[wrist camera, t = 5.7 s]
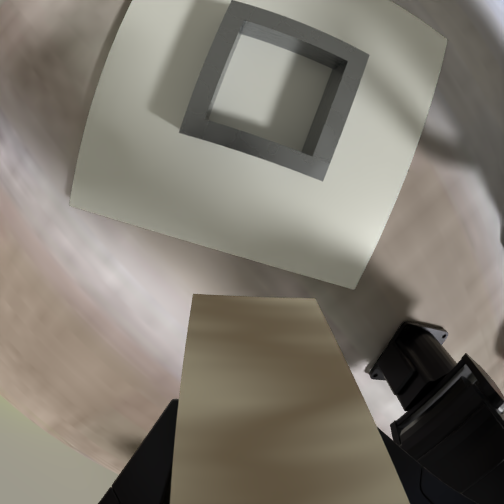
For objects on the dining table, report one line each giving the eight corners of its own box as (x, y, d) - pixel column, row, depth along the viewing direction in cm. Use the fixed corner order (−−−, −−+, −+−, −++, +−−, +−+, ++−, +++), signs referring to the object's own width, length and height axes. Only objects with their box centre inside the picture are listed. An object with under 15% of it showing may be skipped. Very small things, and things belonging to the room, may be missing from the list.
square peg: (315, 298, 10) (435, 569, 2) (294, 381, 12) (350, 594, 3) (193, 293, 10) (168, 617, 1) (194, 381, 11) (189, 610, 3)
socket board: (439, 42, 15) (447, 39, 14) (349, 283, 22) (354, 289, 21) (176, -63, 11) (174, -70, 10) (75, 202, 18) (68, 205, 17)
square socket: (352, 62, 15) (369, 54, 13) (310, 174, 18) (322, 181, 15) (230, 15, 14) (231, -1, 11) (185, 132, 16) (178, 132, 14)
